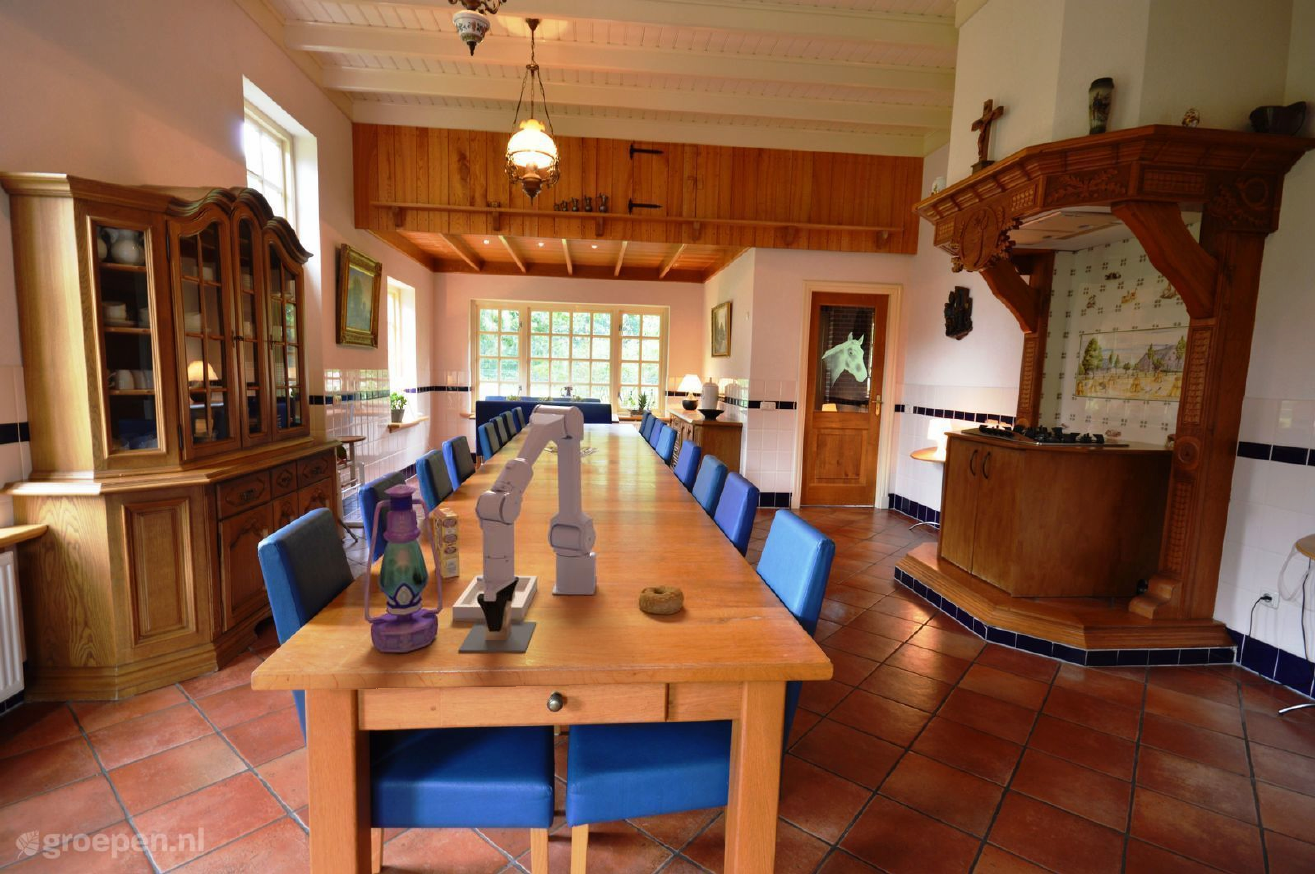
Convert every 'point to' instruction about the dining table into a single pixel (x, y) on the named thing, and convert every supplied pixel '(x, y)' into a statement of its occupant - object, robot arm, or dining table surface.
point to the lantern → (402, 577)
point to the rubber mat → (514, 643)
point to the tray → (468, 603)
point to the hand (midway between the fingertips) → (499, 622)
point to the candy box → (446, 541)
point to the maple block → (505, 626)
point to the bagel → (661, 599)
